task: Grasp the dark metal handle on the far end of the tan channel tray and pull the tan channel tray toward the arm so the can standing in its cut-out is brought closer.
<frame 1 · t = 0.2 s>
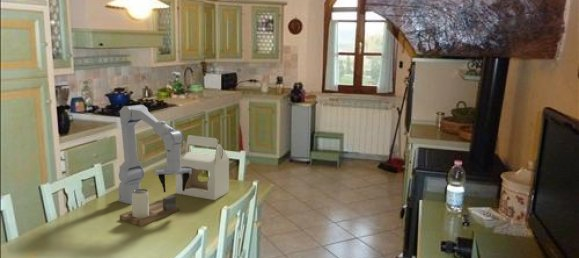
hand: (174, 191, 188), 10 cm above the table, tool pointing down, fingers open, 7 cm apart
gable box: (202, 193, 218), on the table
tan channel tray: (150, 207, 186), point 4 cm above the table, slide at 0.0 cm
can: (140, 219, 183), resting in tan channel tray
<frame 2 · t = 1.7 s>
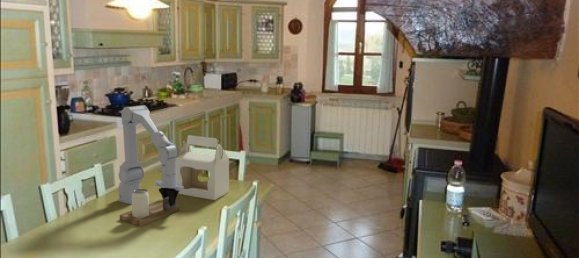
hand: (169, 204, 189), 4 cm above the table, tool pointing down, fingers closed on tan channel tray, 2 cm apart
tan channel tray: (150, 207, 186), point 4 cm above the table, slide at 0.0 cm, touching gripper
everything else where it was.
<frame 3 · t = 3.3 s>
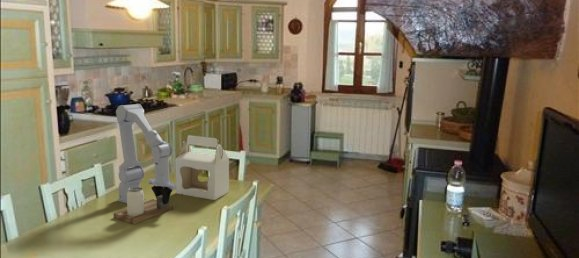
hand: (162, 202, 191), 4 cm above the table, tool pointing down, fingers open, 3 cm apart
tan channel tray: (144, 205, 188), point 4 cm above the table, slide at 3.7 cm, touching can, gripper
can: (136, 217, 184), resting in tan channel tray
everything else where it was.
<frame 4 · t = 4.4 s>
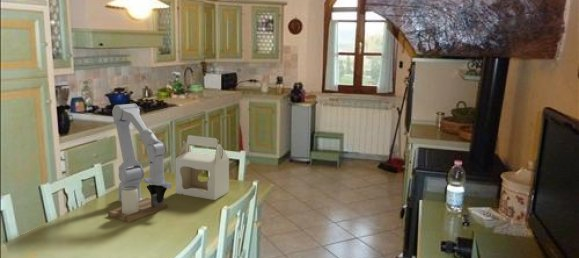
hand: (157, 201, 192), 4 cm above the table, tool pointing down, fingers closed on tan channel tray, 2 cm apart
tan channel tray: (138, 203, 190), point 4 cm above the table, slide at 7.0 cm, touching can, gripper
can: (130, 216, 186), resting in tan channel tray
everything else where it was.
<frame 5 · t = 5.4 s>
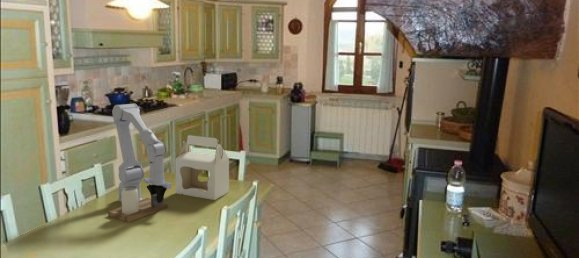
hand: (157, 201, 192), 4 cm above the table, tool pointing down, fingers closed on tan channel tray, 2 cm apart
tan channel tray: (138, 203, 190), point 4 cm above the table, slide at 7.0 cm, touching gripper
can: (130, 216, 186), resting in tan channel tray
everything else where it was.
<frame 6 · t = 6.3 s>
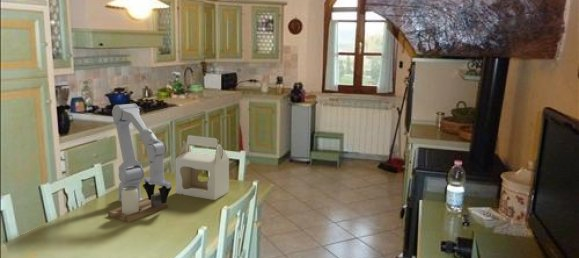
hand: (157, 201, 192), 4 cm above the table, tool pointing down, fingers open, 7 cm apart
tan channel tray: (138, 203, 190), point 4 cm above the table, slide at 7.0 cm
everything else where it was.
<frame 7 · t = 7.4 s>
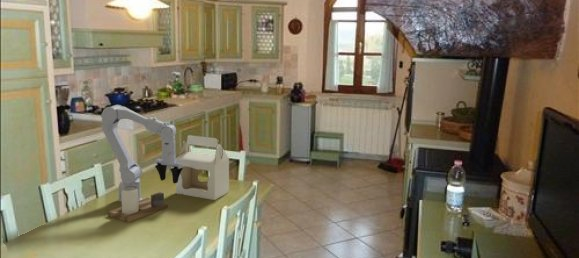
hand: (169, 181, 201), 10 cm above the table, tool pointing down, fingers open, 7 cm apart
nothing on the table moved.
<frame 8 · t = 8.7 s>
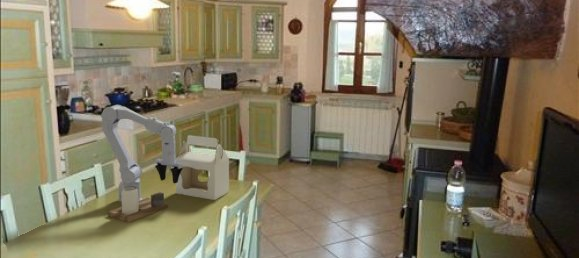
hand: (169, 181, 201), 10 cm above the table, tool pointing down, fingers open, 7 cm apart
nothing on the table moved.
at the end: tan channel tray slide at 7.0 cm; can inside the target area (0.2 cm from its centre), resting in tan channel tray; can tilted 0° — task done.
